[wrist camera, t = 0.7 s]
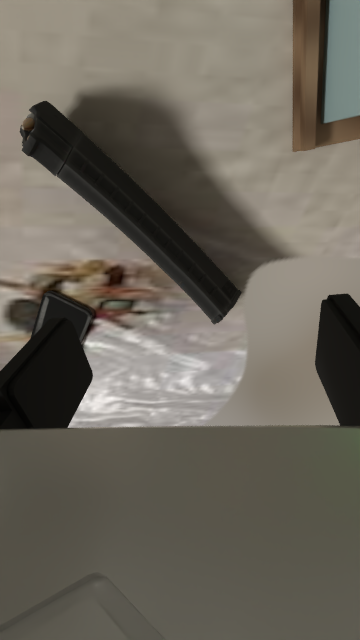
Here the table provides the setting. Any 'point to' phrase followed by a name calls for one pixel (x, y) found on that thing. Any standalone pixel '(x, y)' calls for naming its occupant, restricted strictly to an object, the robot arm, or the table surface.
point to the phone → (62, 313)
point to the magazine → (125, 207)
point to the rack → (313, 82)
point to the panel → (341, 61)
